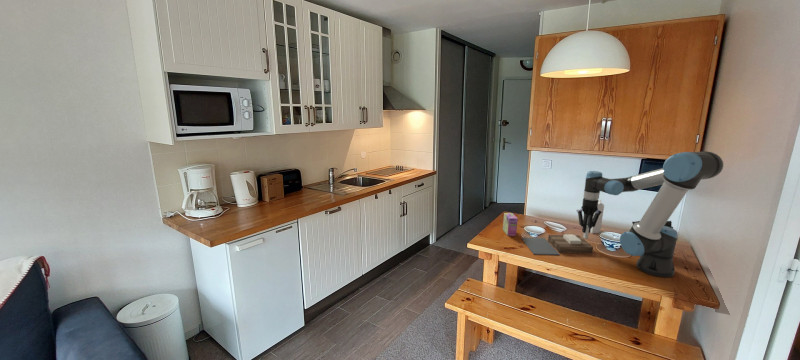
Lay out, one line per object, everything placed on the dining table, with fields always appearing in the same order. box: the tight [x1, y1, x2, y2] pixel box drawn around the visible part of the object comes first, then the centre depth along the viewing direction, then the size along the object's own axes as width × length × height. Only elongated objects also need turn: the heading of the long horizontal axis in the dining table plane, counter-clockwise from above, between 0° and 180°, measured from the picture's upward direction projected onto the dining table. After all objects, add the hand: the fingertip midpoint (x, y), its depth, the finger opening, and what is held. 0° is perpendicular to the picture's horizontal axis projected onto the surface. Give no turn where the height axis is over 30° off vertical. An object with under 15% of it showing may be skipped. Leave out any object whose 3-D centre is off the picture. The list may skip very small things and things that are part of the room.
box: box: [502, 212, 519, 237], centre depth 210 cm, size 10×6×12 cm, turn 179°
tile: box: [562, 233, 581, 244], centre depth 189 cm, size 9×6×2 cm, turn 177°
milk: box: [587, 199, 605, 234], centre depth 211 cm, size 6×6×22 cm
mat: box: [521, 237, 561, 256], centre depth 191 cm, size 22×14×1 cm, turn 177°
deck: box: [547, 234, 594, 255], centre depth 190 cm, size 16×18×4 cm
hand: (585, 237), depth 188 cm, fingers closed
